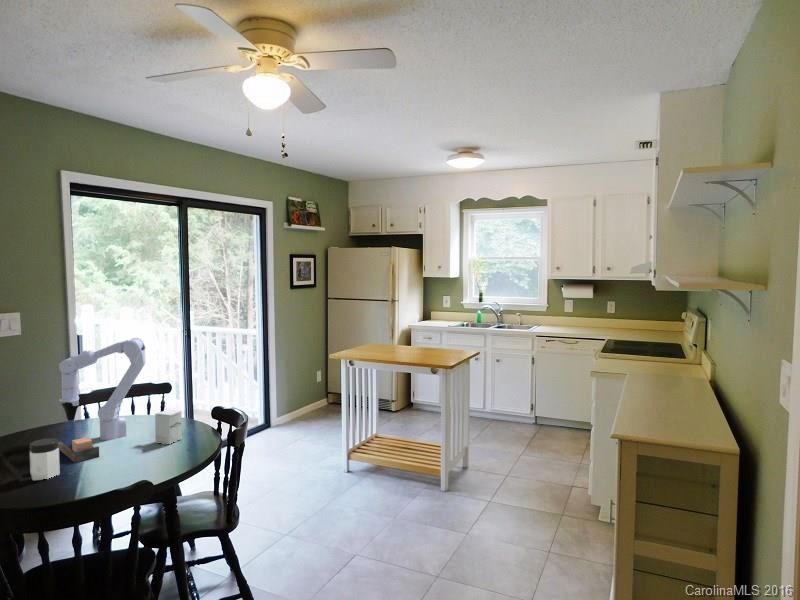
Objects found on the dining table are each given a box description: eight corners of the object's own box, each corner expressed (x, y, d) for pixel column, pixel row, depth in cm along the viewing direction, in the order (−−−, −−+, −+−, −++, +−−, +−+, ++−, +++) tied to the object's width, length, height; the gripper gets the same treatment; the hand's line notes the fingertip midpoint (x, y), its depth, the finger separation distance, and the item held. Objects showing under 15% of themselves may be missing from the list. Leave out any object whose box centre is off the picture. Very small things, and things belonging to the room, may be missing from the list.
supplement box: (169, 445, 211) (168, 415, 210) (155, 443, 213) (154, 413, 213) (182, 439, 218) (181, 410, 217) (168, 437, 220) (167, 408, 220)
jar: (24, 481, 174) (23, 446, 173) (35, 472, 182) (34, 438, 181) (54, 479, 176) (53, 445, 175) (64, 470, 184) (63, 437, 183)
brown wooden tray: (86, 444, 211) (85, 432, 210) (105, 458, 196) (104, 445, 196) (51, 452, 202) (51, 439, 201) (68, 467, 187) (68, 453, 187)
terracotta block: (87, 452, 199) (86, 437, 199) (92, 456, 195) (92, 440, 195) (72, 455, 195) (72, 440, 195) (77, 459, 191) (77, 443, 191)
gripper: (53, 386, 214) (54, 418, 215) (64, 391, 205) (65, 425, 205) (73, 383, 220) (73, 414, 220) (84, 389, 210) (85, 421, 211)
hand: (71, 419), depth 213 cm, fingers closed
